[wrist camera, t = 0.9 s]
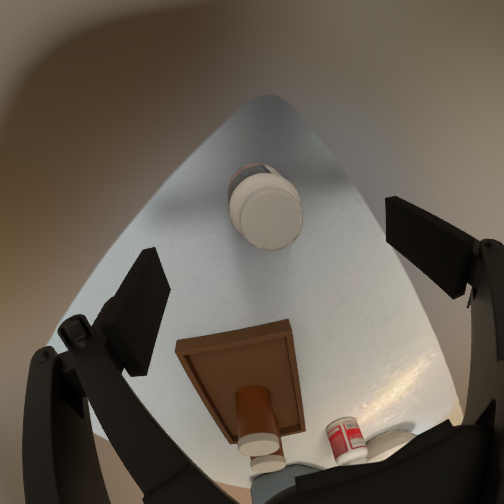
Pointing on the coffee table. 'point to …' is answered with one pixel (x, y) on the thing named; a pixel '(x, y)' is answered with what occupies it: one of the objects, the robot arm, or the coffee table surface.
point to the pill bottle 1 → (264, 207)
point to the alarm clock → (276, 482)
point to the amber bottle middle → (255, 422)
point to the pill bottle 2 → (347, 442)
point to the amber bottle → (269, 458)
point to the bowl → (387, 444)
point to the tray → (245, 373)
